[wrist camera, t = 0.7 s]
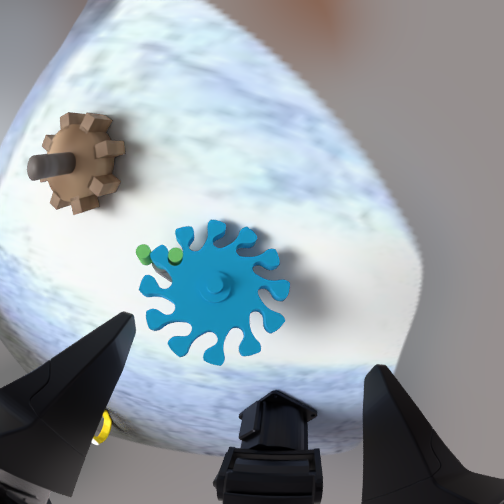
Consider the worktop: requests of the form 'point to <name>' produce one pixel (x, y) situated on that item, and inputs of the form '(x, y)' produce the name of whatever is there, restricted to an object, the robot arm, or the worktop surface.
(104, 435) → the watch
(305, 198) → the worktop surface
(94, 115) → the gear
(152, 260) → the gear
